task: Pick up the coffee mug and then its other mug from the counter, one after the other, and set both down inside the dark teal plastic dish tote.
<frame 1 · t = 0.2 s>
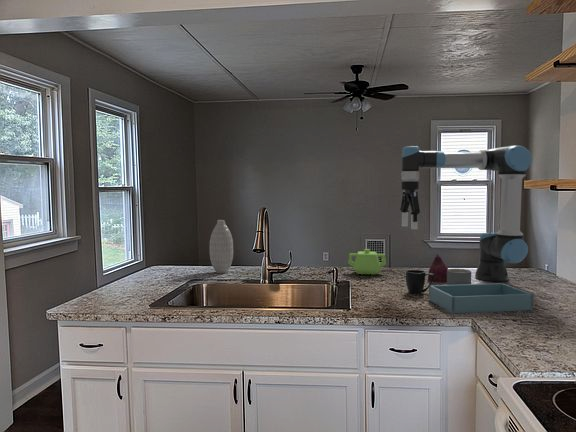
hand: (409, 227, 215), 27 cm above the worktop, fingers open, 13 cm apart
coffee mug: (457, 293, 207), on the worktop
mug: (419, 293, 206), on the worktop
vase: (221, 272, 256), on the worktop
vegetable: (439, 281, 232), on the worktop
tote: (478, 304, 186), on the worktop
green rounded pot: (366, 273, 254), on the worktop
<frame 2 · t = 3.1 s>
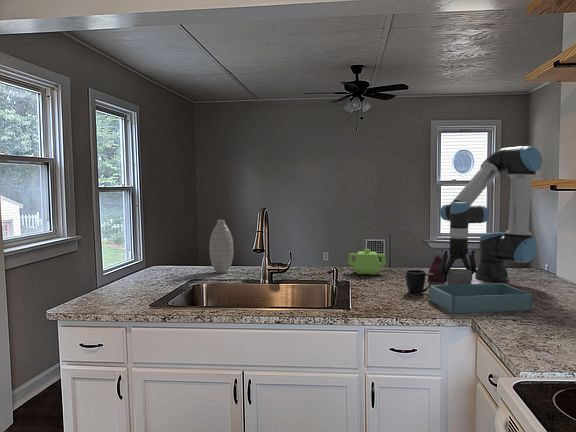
hand: (457, 288, 207), 2 cm above the worktop, fingers open, 9 cm apart
coffee mug: (458, 292, 207), on the worktop, touching gripper
everything else where it was.
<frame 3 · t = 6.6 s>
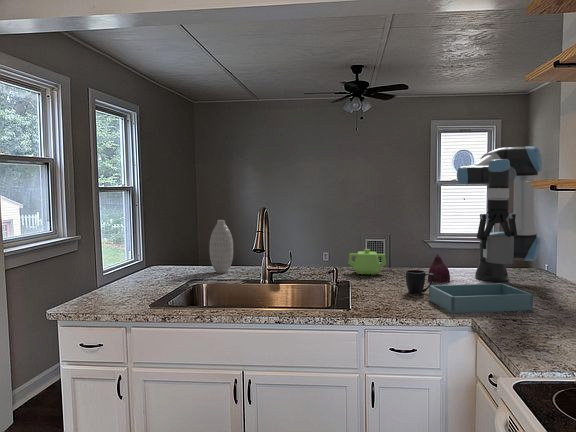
hand: (496, 257, 186), 19 cm above the worktop, fingers closed on coffee mug, 8 cm apart
coffee mug: (497, 261, 186), point 17 cm above the worktop, touching gripper
everything else where it was.
when the fingers open (4 cm above the worktop, at t = 9.7 s): coffee mug drops 1 cm, resting on tote.
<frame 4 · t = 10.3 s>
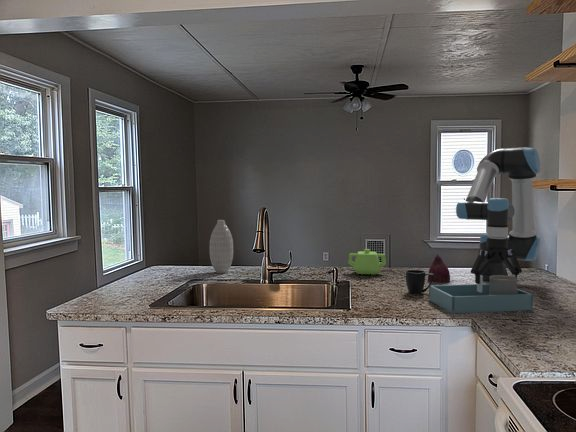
hand: (495, 291, 187), 5 cm above the worktop, fingers open, 13 cm apart
coffee mug: (501, 302, 187), point 1 cm above the worktop, touching gripper, tote
everything else where it was.
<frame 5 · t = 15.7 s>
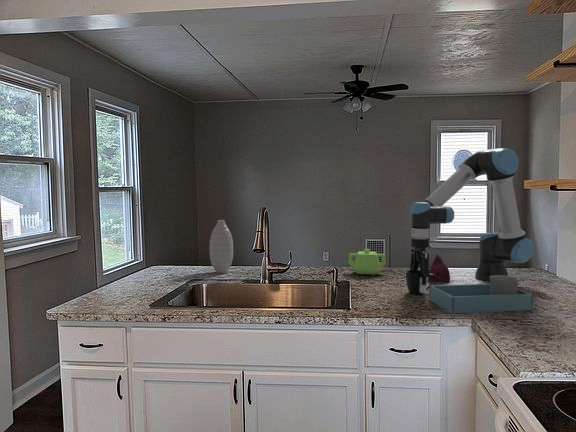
hand: (418, 289, 206), 1 cm above the worktop, fingers closed on mug, 8 cm apart
coffee mug: (501, 302, 187), point 1 cm above the worktop, touching tote
mug: (420, 293, 206), on the worktop, touching gripper
everything else where it was.
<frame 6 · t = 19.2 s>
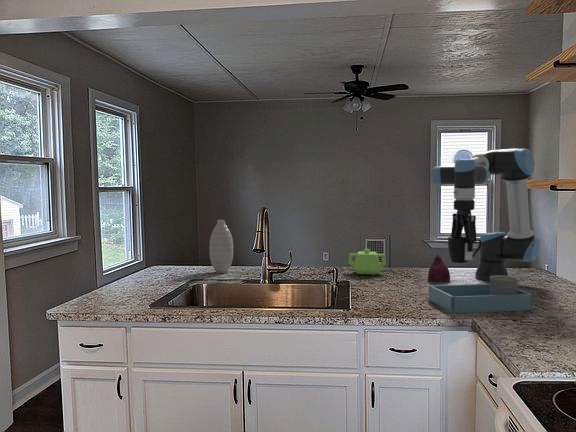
hand: (462, 258, 184), 19 cm above the worktop, fingers closed on mug, 8 cm apart
mug: (464, 262, 183), point 17 cm above the worktop, touching gripper
everything else where it was.
when the fingers open (4 cm above the worktop, at t = 22.3 s): mug drops 1 cm, resting on tote.
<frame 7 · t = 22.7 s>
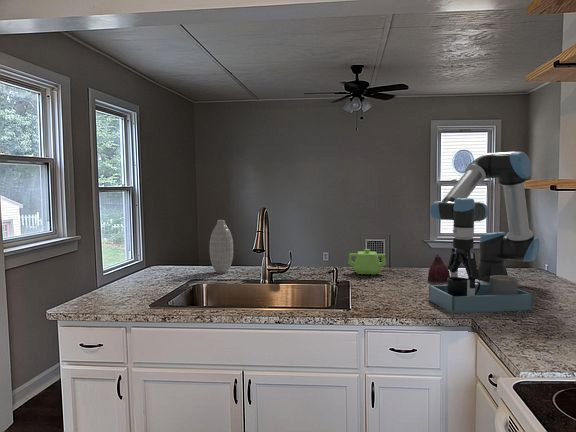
hand: (462, 292, 185), 5 cm above the worktop, fingers open, 13 cm apart
mug: (463, 303, 185), point 1 cm above the worktop, touching tote
everything else where it was.
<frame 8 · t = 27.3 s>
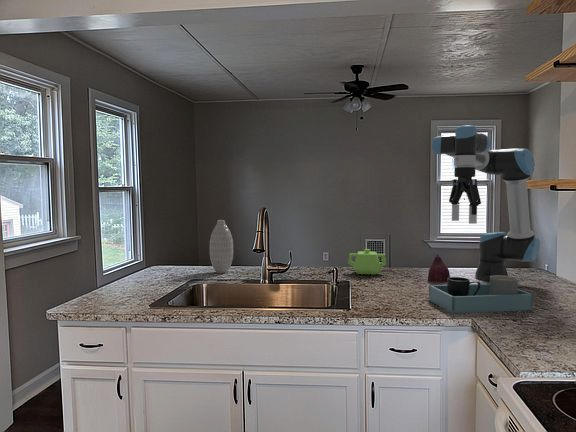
hand: (463, 222, 183), 33 cm above the worktop, fingers open, 13 cm apart
nothing on the worktop moved.
at the end: coffee mug inside the target area on the tote (9.1 cm from its centre), point 0.8 cm above the tote's base; mug inside the target area on the tote (6.9 cm from its centre), point 0.8 cm above the tote's base; the gripper is holding nothing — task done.
